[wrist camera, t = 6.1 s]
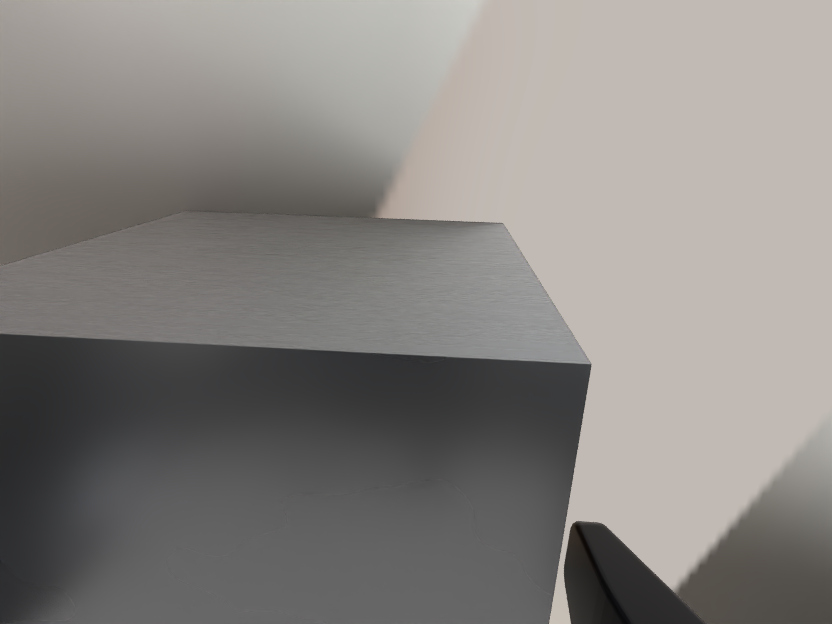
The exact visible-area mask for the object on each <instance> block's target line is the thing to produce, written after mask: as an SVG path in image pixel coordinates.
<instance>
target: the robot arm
mask: <svg viewBox="0 0 832 624" xmlns="http://www.w3.org/2000/svg"><path fill="white" fill-rule="evenodd" d="M564 579H565V588H566V594H567V600H568V607H569V613H570V619H571V624H706V623H705V622H704V621H703V620H702V619H701V618H700V617H699V616H698V615H697V614H696V613H695V612H694V611H692V610H691V609H690V608H689V607H688V606H687V605H686V604H685V603H684V602H683V601H682V600H681V599H680V598H679V597H678V596H677V595H676V594H675V593H674V592H673V591H672V590H671V589H670V588H669V587H668V586H667V585H666V584H665V583H664V582H663V581H662V580H660V578H659V577H658V576H656V574H654V573H653V572H652V571H651V570H650V569H649V568H648V567H647V566H646V565H645V564H644V563H643V562H642V561H641V560H640V559H639V558H638V557H637V556H636V555H635V554H634V553H633V552H632V551H631V550H630V549H629V548H628V547H627V546H626V545H625V544H624V543H623V542H622V541H621V540H620V539H618V538H617V537H616V536H615V535H614V534H613V533H612V532H611V531H610V530H609V529H608V528H607V527H606V526H605V525H603V524H601V523H597V522H582V521H576V522H575V523H573V524H572V527H571V530H570V534H569V541H568V547H567V552H566V559H565V564H564Z"/></svg>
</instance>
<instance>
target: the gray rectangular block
mask: <svg viewBox="0 0 832 624" xmlns="http://www.w3.org/2000/svg"><path fill="white" fill-rule="evenodd" d="M590 370H591V363H590V361H589V360H588V358H587V356H586V355H585V353H584V351H583V350H582V348H581V347H580V345H579V344H578V342H577V340H576V339H575V337H574V335H573V334H572V332H571V331H570V329H569V328H568V326H567V324H566V323H565V321H564V320H563V318H562V316H561V315H560V313H559V312H558V310H557V308H556V307H555V305H554V304H553V302H552V301H551V299H550V297H549V296H548V294H547V292H546V291H545V289H544V288H543V286H542V284H541V283H540V281H539V280H538V278H537V277H536V275H535V273H534V272H533V270H532V269H531V267H530V265H529V264H528V262H527V261H526V259H525V257H524V256H523V254H522V253H521V251H520V250H519V248H518V246H517V245H516V243H515V242H514V240H513V238H512V237H511V235H510V233H509V232H508V230H507V229H506V227H505V226H504V224H503V223H485V222H460V221H436V220H411V219H385V218H359V217H334V216H309V215H283V214H258V213H232V212H207V211H183V212H180V213H176V214H173V215H170V216H166V217H163V218H160V219H156V220H153V221H149V222H146V223H143V224H139V225H136V226H133V227H129V228H126V229H122V230H119V231H116V232H112V233H109V234H106V235H102V236H99V237H95V238H92V239H89V240H85V241H82V242H79V243H75V244H72V245H68V246H65V247H62V248H58V249H55V250H52V251H48V252H45V253H42V254H38V255H35V256H31V257H28V258H25V259H21V260H18V261H15V262H11V263H8V264H4V265H1V266H0V624H549V619H550V613H551V607H552V601H553V595H554V589H555V582H556V577H557V571H558V564H559V559H560V552H561V547H562V540H563V534H564V528H565V522H566V516H567V510H568V504H569V498H570V491H571V485H572V480H573V473H574V467H575V461H576V455H577V449H578V443H579V437H580V431H581V425H582V419H583V413H584V407H585V400H586V394H587V388H588V382H589V376H590Z"/></svg>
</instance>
